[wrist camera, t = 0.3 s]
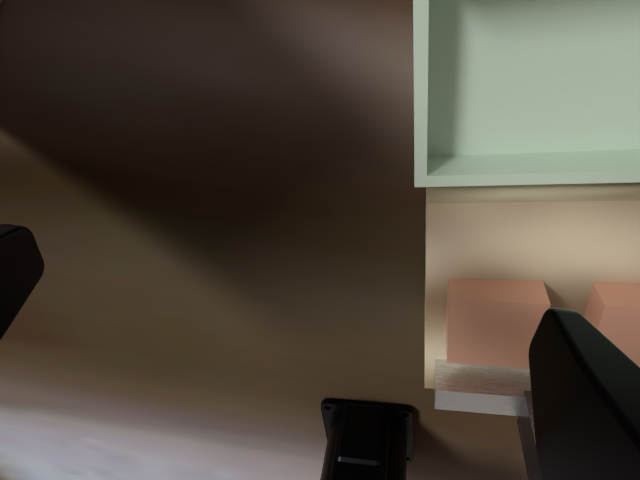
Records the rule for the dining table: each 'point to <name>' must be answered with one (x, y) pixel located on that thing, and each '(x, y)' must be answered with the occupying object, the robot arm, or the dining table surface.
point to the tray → (526, 92)
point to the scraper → (490, 398)
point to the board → (527, 243)
